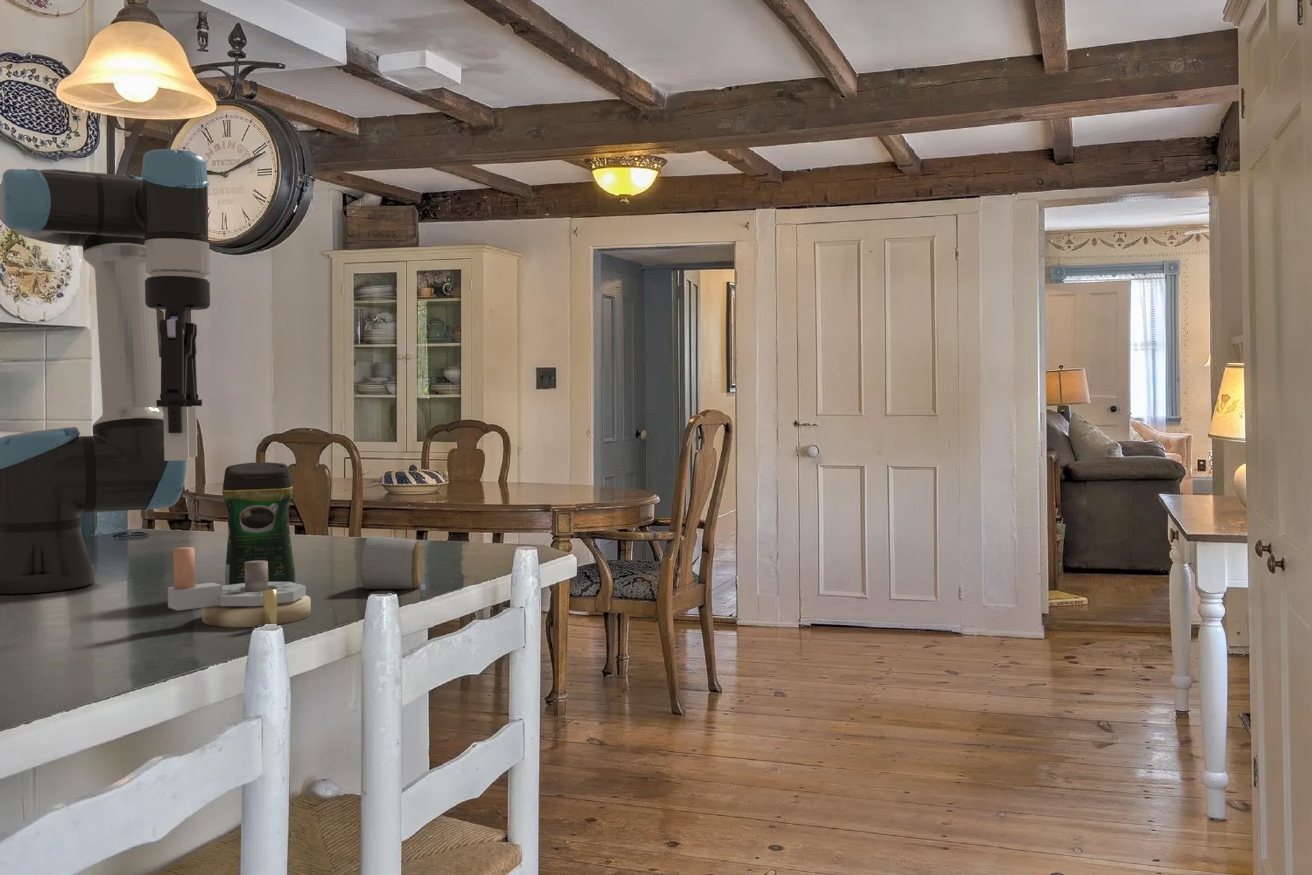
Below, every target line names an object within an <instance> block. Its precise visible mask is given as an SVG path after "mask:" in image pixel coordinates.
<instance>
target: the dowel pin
mask: <svg viewBox="0 0 1312 875" xmlns="http://www.w3.org/2000/svg"><path fill="white" fill-rule="evenodd" d="M263 622H264V625H265V624H277V589H265V590H263ZM277 625H278V624H277Z"/></svg>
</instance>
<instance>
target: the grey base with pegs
mask: <svg viewBox="0 0 1312 875" xmlns="http://www.w3.org/2000/svg"><path fill="white" fill-rule="evenodd" d="M195 551H196V550H195V547H194V546H181V547H174V548H173V551H172V553H173V554H172V556H173V558H172V559H173V586H171V587H167V608H168V609H172V610H174V611H184V610H191V609H192V610H193V609H199V608H200V609H202V607H209V606H217V605H220V606H262V605H263V591H262V592H245V583H241V584H233V585H225V584H224V585H222V584H219V583H215V582H206V583H204V582H203V583H196V564H195V563H196V559H195V558H196V556H195V554H196V553H195ZM268 589H277V603H285V602H292V601H295V600H297V599H299V598H301V597H303V596H305V595H307V585H305V584H301V583H297V582H295V583H293V582H268Z"/></svg>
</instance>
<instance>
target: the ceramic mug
mask: <svg viewBox="0 0 1312 875" xmlns="http://www.w3.org/2000/svg"><path fill="white" fill-rule="evenodd" d="M426 555H427V554H426V548H425V546H424V543H422V541H420V540H416V539H412V538H402V537H401V538H399V537H390V536H389V537H388V536H377V535H369V536H367V538H366V539H365V541H364V542H363V545H362V551H361V558H360V578H361V583H362V586H363V588H364V589H366V590H412V589H417V588H419V587H420V586H421V585H422V583H423V581H424V577H425V574H426V565H427V564H426V563H427V562H426V561H427V560H426V558H427V557H426Z"/></svg>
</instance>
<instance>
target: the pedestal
mask: <svg viewBox="0 0 1312 875" xmlns="http://www.w3.org/2000/svg"><path fill="white" fill-rule="evenodd" d="M265 589H268V561H262V560H259V561H248V562H245V592H262V591H263V590H265ZM311 605H312V604H311V597H310V596H309V595H307V594H306V595H305V596H303V597H301V598H299V599H297V600H295V601H292V602H285V603H277V625H285V624H288V623H289V624H290V623H294V622H297V621H301V620H303V619H304V620H305V619H307V618H308V617H310V616H311V615H312V614H311V612H312V608H311ZM201 615H202V618H201V619H202V620H201V621H202V623H204V624H205V625H208V626H214V627H220V628H221V627H222V628H253V627H254V628H256V627H255V626H257V627H261V626H260V625H264V622H263V605H262V606H220V605H217V606H209V607H201Z"/></svg>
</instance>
